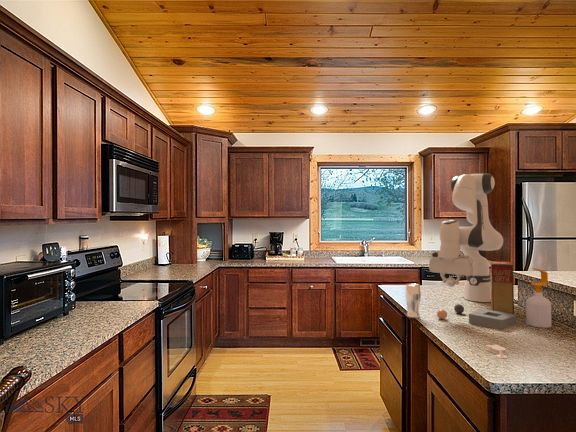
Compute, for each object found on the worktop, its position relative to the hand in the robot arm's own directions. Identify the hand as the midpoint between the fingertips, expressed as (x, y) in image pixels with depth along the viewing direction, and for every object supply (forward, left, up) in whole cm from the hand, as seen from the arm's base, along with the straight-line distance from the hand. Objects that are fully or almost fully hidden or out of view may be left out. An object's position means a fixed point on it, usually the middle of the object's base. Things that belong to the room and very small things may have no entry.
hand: (450, 283), depth 181 cm
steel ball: (0, 0, -2) cm, 2 cm away
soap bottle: (-14, +32, -16) cm, 38 cm away
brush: (+35, +35, -16) cm, 52 cm away
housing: (-2, +18, -16) cm, 24 cm away
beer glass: (+14, -11, -16) cm, 24 cm away
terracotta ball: (+8, 0, -16) cm, 18 cm away
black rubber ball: (-8, 0, -16) cm, 17 cm away
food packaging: (-20, +15, -16) cm, 29 cm away
